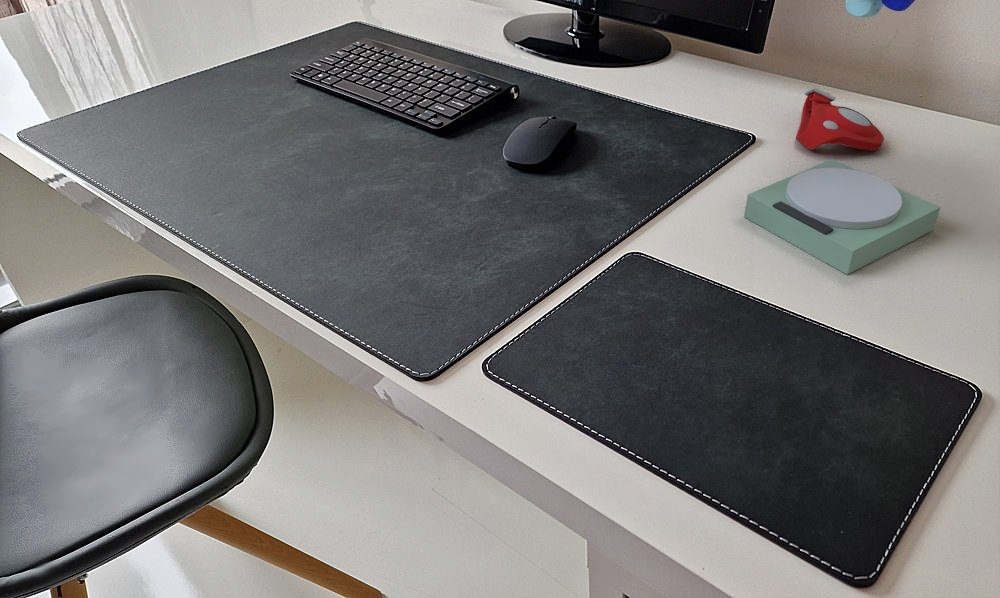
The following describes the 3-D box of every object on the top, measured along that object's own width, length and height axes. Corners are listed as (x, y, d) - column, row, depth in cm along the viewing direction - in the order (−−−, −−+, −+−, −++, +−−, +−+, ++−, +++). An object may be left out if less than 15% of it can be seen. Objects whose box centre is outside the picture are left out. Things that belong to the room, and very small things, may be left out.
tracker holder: (905, 132, 87) (857, 138, 81) (881, 166, 89) (833, 174, 84) (822, 76, 93) (771, 78, 87) (802, 109, 96) (752, 113, 90)
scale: (827, 180, 82) (833, 151, 80) (933, 230, 73) (943, 199, 71) (743, 216, 77) (748, 187, 75) (847, 274, 68) (855, 243, 67)
